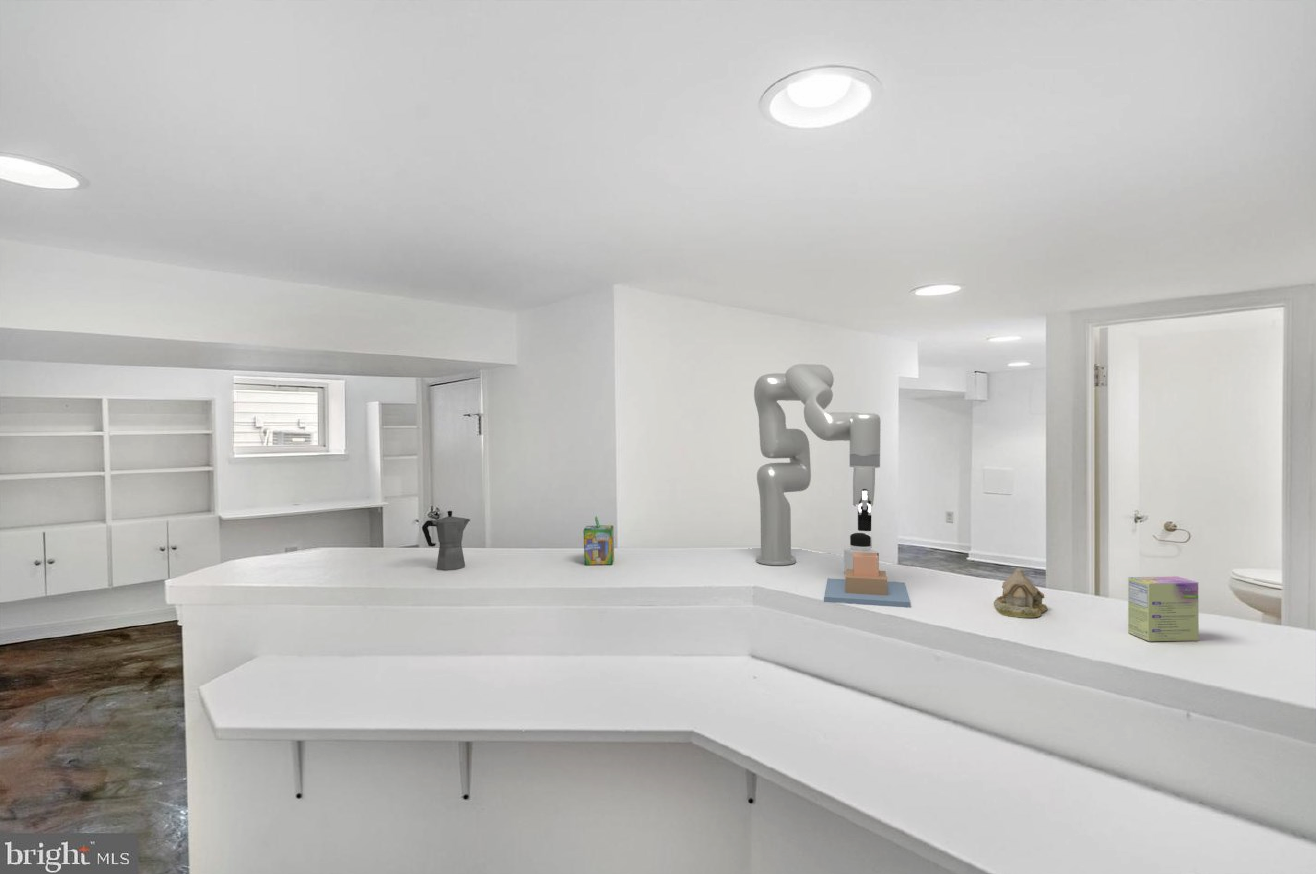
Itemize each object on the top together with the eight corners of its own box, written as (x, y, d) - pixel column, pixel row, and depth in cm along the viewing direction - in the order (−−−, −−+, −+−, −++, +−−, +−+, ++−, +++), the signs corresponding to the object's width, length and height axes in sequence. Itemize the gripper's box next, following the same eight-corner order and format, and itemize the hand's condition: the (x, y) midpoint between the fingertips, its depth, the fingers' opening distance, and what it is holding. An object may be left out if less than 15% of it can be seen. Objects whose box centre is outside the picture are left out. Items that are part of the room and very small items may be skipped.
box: (1175, 632, 135) (1175, 575, 134) (1199, 641, 129) (1199, 582, 129) (1126, 633, 134) (1126, 576, 134) (1148, 642, 129) (1148, 583, 128)
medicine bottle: (857, 578, 184) (857, 536, 184) (843, 573, 191) (843, 532, 191) (879, 576, 186) (879, 534, 186) (865, 571, 193) (864, 531, 193)
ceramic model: (994, 600, 161) (993, 560, 160) (1046, 606, 155) (1046, 564, 155) (992, 615, 148) (992, 572, 148) (1049, 622, 143) (1049, 576, 143)
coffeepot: (464, 562, 214) (463, 507, 214) (476, 566, 207) (475, 510, 206) (417, 569, 204) (416, 512, 204) (428, 574, 197) (427, 514, 196)
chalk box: (612, 565, 206) (611, 518, 206) (583, 565, 206) (582, 519, 206) (615, 559, 215) (614, 514, 215) (587, 559, 215) (586, 515, 215)
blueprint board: (827, 582, 180) (827, 563, 180) (904, 587, 174) (904, 567, 174) (824, 601, 161) (823, 580, 161) (910, 607, 155) (910, 585, 155)
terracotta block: (853, 570, 171) (853, 551, 171) (877, 572, 169) (877, 552, 169) (853, 576, 165) (853, 556, 165) (878, 577, 164) (878, 557, 164)
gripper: (849, 458, 176) (849, 521, 177) (849, 463, 160) (848, 532, 160) (879, 459, 174) (878, 522, 175) (881, 464, 158) (880, 534, 158)
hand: (864, 527), depth 168 cm, fingers open, 9 cm apart
